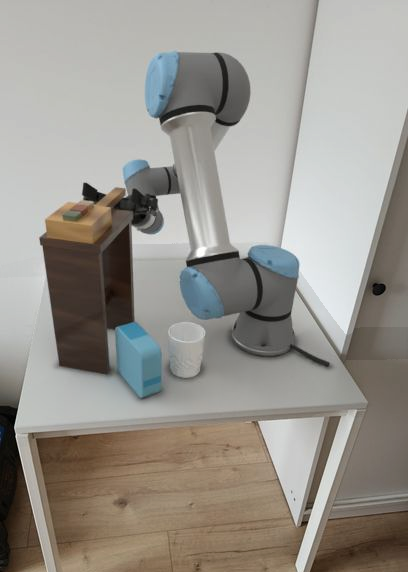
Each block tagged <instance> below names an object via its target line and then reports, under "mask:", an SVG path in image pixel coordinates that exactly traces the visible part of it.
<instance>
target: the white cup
mask: <svg viewBox="0 0 408 572" xmlns="http://www.w3.org/2000/svg"><path fill="white" fill-rule="evenodd" d="M167 332H168V334H167V335H168V337H167V338H168V355H169V370H170V371H171V373H172V375H174V376H176V377H178V378H182V379H190V378H193V377H196V376H197V375H198V374H199V373H201V365H202V361H203V355H204V347H205V342H206V341H205V339H206V330H205V328H204V327H203V326H202V325H200V324H198V323H196V322H190V321H181V322H177V323H174V324H172V325H171V326H170V327H169V328H168V331H167Z"/></svg>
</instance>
